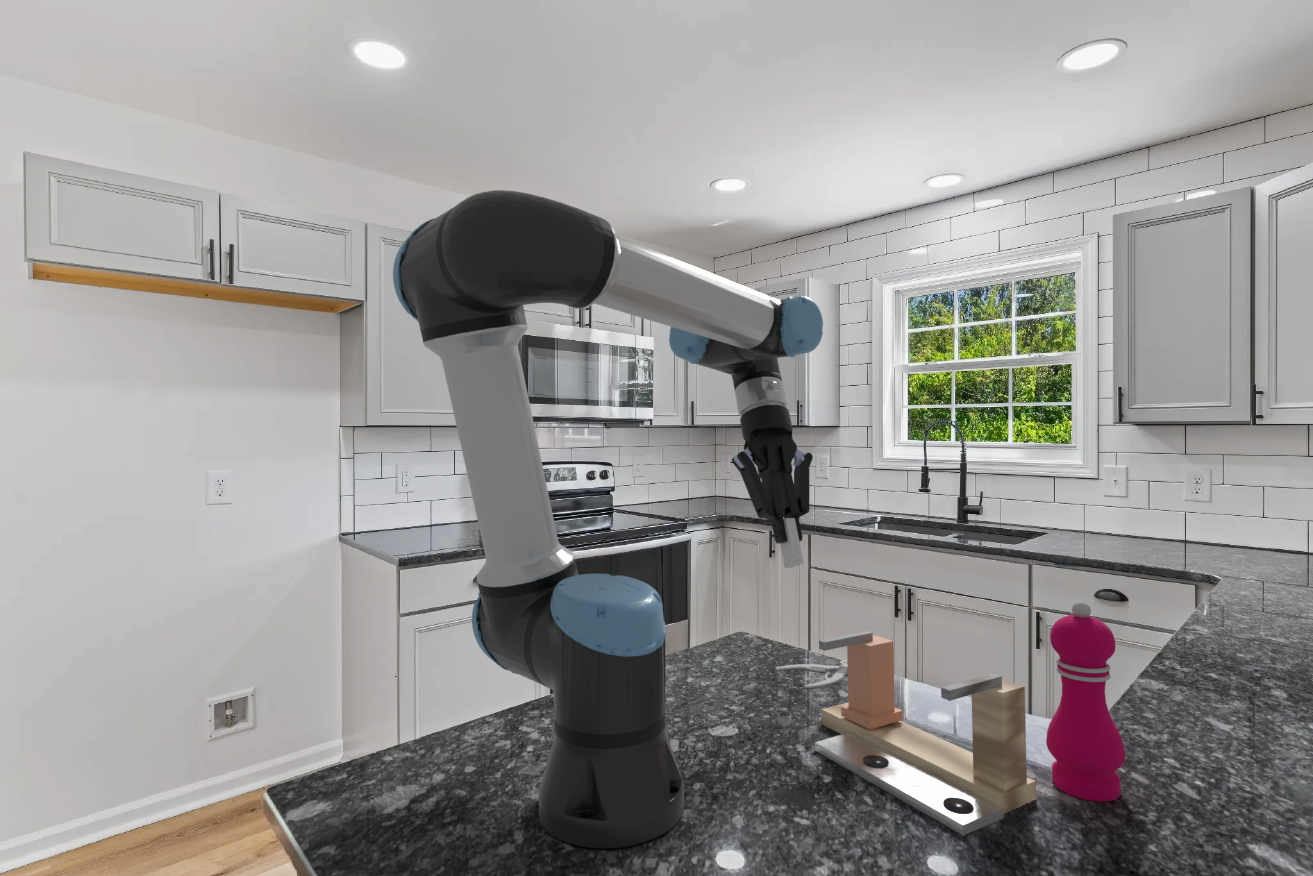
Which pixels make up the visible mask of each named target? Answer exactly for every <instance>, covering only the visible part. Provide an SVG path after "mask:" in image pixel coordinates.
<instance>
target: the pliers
mask: <svg viewBox="0 0 1313 876" xmlns="http://www.w3.org/2000/svg"><path fill="white" fill-rule="evenodd" d="M844 662H845V663H844ZM847 663H848V659H847V658H846V659H843V660H839V665H828V664H827V665H825V664H817V663H812V664H811V663H803V664H799V663H798V664H789V665H782V666H776V667H775V671H777V672H779V671H788V670H806V671H810V672H815V673H825V674H824V680H821V681H818V682H813V683H809V684H804V689H806V690H807V689H815V688H821V687H826V686H827V687H828V686H831V685H834V684H836V683H839V682H841V681H842V680H843V679H844V677H845V676H848V664H847ZM826 671H829V672H827V673H826ZM830 671H835V673H834V674H833V675H832V676H831V677H829V676H830V675H831V672H830Z"/></svg>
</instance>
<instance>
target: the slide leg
mask: <svg viewBox="0 0 1313 876" xmlns="http://www.w3.org/2000/svg"><path fill="white" fill-rule="evenodd" d="M844 647H846V648H847V649H846V650H847V651H846V653H847V656H846V657H847V658H846V659H848V674H847V692H848V694H847V695H848V696H847V697H848V698H847V700H848V702H847V703H848V705H845V706H841V716H843V717H845V718H847V719H849V720H851V721H853V722H855V723H857V724H860V725H862V726H864V727H866V728H868V729H870V730H871V729H874V728H877V727H881V726H884V725H888V724H891V723H895V722H898V721H903V720H904V719H903V710H902V709H900V708H897V707H896V706H895V703H896V702H895V699H896V697H895V664H894V662H895V661H894V659H895V657H894V641H893V640H891V639H889V638H885V637H882V636H879V635H875V634H874V633H873V632H871V631H868V630H864V631H860V632H855V633H849V634H845V635H840V636H834V637H830V638H825V639H820V640H818V649H819V650H822V651H823V652H824V651H829V650H834V649H835V650H836V649H839V648H844Z"/></svg>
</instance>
